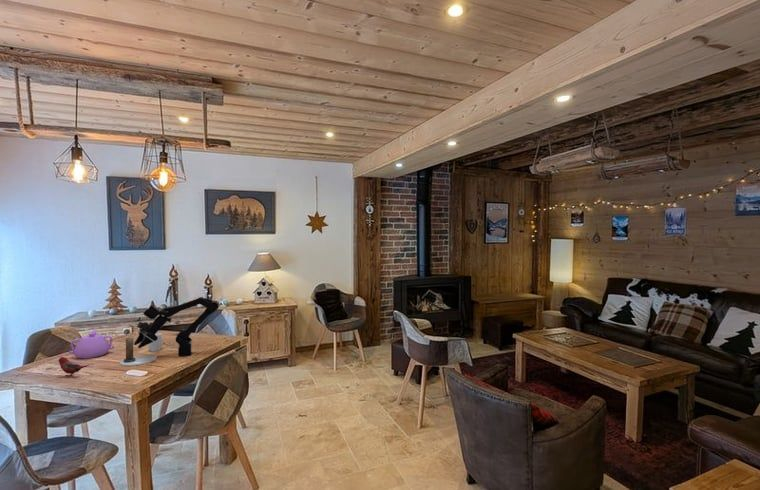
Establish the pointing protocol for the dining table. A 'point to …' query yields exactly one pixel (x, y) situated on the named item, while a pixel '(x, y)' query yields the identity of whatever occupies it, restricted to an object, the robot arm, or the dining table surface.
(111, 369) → the dining table surface
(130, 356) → the brown tapered knob
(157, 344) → the white cup
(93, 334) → the teapot
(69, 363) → the decorative bird figurine
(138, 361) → the white smooth round part
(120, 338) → the dining table surface
